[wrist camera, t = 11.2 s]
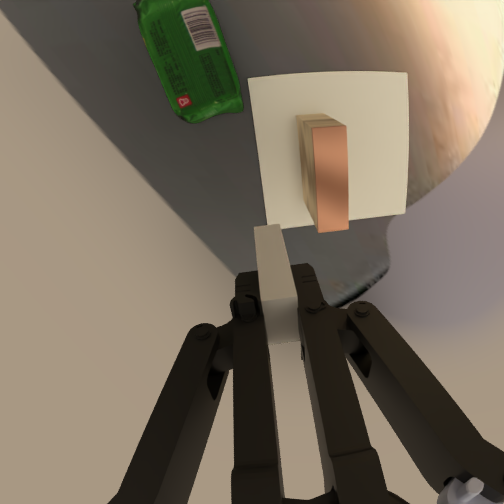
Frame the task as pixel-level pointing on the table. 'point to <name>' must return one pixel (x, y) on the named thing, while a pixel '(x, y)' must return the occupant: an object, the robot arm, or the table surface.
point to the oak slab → (324, 170)
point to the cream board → (358, 139)
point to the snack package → (190, 57)
